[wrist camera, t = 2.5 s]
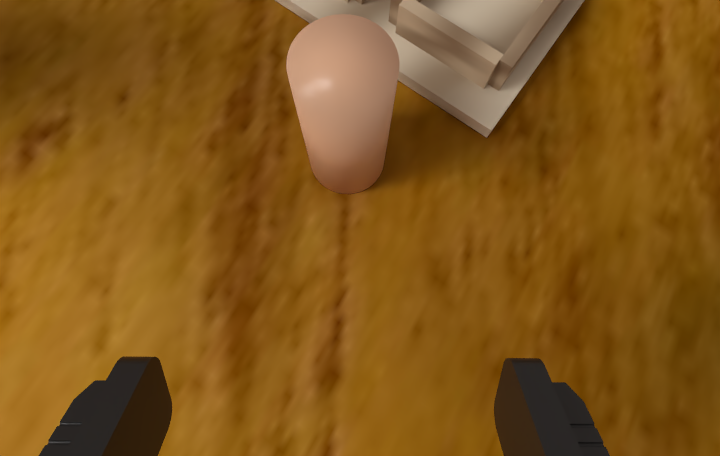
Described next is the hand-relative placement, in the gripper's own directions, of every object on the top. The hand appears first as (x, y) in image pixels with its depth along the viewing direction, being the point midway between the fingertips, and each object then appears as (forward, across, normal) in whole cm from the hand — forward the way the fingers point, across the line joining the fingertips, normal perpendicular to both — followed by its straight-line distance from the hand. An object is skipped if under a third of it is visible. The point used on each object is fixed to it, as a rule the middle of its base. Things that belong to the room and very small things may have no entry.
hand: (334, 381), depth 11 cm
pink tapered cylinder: (+19, 0, -2) cm, 19 cm away
